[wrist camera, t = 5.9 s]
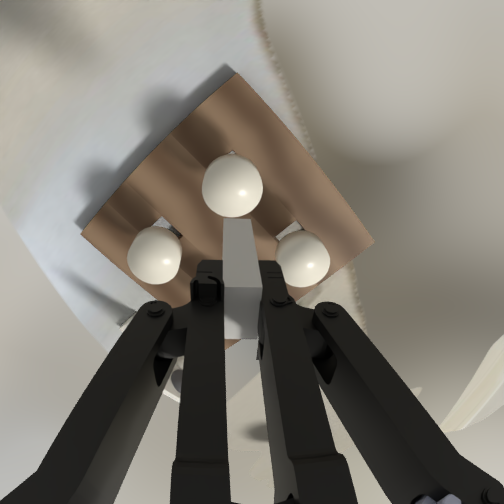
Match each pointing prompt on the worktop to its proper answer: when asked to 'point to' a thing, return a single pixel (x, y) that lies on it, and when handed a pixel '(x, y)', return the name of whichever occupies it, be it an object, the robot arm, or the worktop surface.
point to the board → (207, 221)
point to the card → (175, 378)
